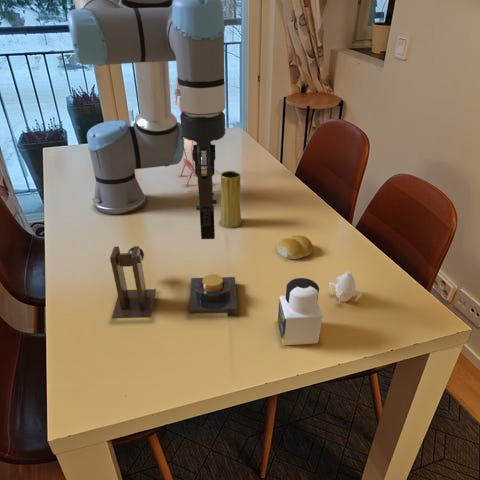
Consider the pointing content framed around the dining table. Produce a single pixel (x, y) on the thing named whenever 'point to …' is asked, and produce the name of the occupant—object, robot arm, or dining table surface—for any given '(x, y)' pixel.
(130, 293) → the lever bracket
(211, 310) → the button base
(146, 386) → the dining table surface
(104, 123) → the robot arm
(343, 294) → the rocket toy
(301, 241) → the bread roll
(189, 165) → the figurine
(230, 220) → the vase
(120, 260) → the flush lever
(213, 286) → the tan short cylinder
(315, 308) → the medicine bottle
